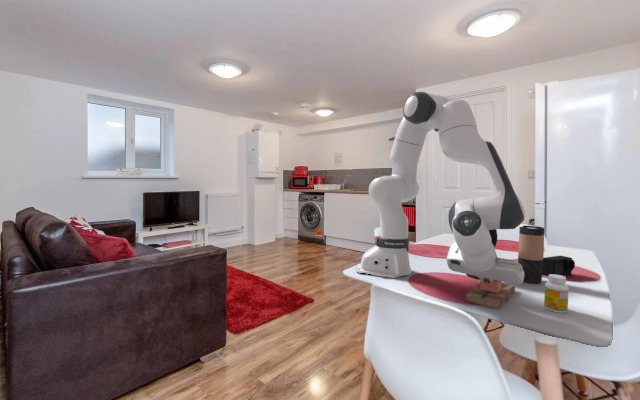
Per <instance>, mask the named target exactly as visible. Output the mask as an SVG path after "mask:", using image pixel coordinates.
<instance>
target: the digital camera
mask: <svg viewBox="0 0 640 400" xmlns="http://www.w3.org/2000/svg"><path fill="white" fill-rule="evenodd" d="M575 267H576V262H575V260H574V259H573V258H572V257H570V256H564V255H555V256H554V255H553V256H547V257H545V256H544V257H543V269H542V276H545V277H548V276H549V275H550V274H555V275H561V276H564V277H566V276H565V275H569V276H572V271H573V270H574V269H575Z"/></svg>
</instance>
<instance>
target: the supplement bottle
mask: <svg viewBox="0 0 640 400" xmlns="http://www.w3.org/2000/svg"><path fill="white" fill-rule="evenodd" d="M547 277H548V276H547ZM566 277H567V276H561V275H555V274H550V275H549V277H548V278H547V279H548V281H546V282H545V284H544V300H543V301H544V302H543V307H544V309H546V310H548V311H549V312H550V311H551V312H552V313H553V312H554V313H559V314H564V313H567V312H568V310H569V308H568V307H569V293H570V292H569V291H570V288H569V285H567V284H566V282H567V278H566Z"/></svg>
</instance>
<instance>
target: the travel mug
mask: <svg viewBox="0 0 640 400" xmlns="http://www.w3.org/2000/svg"><path fill="white" fill-rule="evenodd" d="M518 232H519V235H518V251H517V252H518V253H517V262H518V263H519V264H521V265H522V267H523V271H524V274H525V275H524V281H523V283H527V284H532V285H533V284H535V285H538V284H541V283H542V278H543V275H542V269H543V258H544V256H545V255H544V254H545V253H544V252H545V251H544V250H545V249H544V248H545V228H544V227H542V226H536V225H535V226H534V225H522V226H519V231H518Z"/></svg>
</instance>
